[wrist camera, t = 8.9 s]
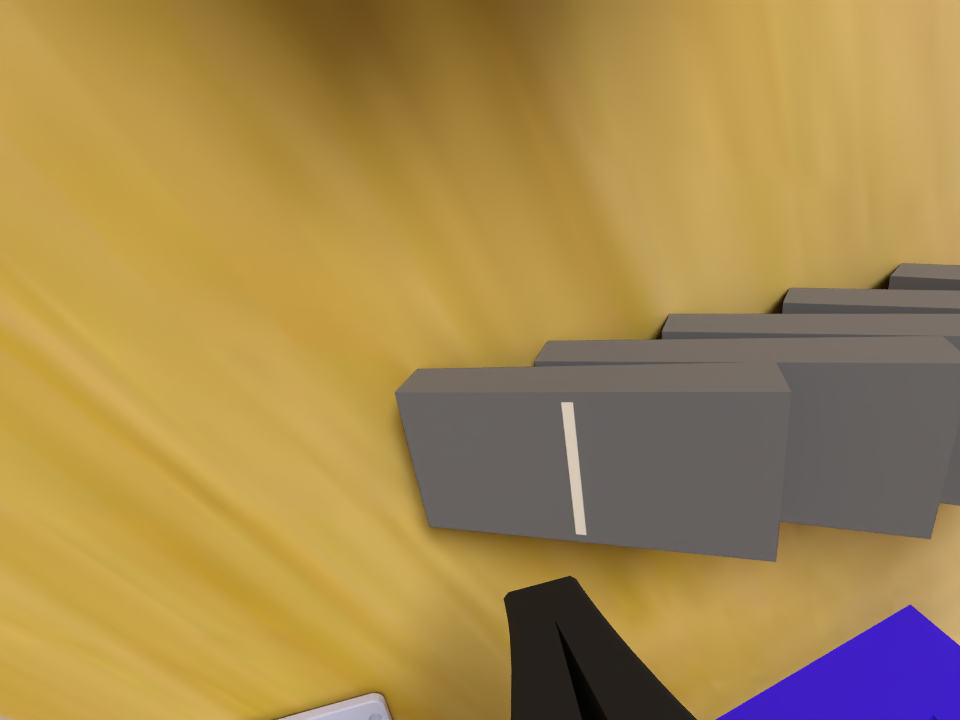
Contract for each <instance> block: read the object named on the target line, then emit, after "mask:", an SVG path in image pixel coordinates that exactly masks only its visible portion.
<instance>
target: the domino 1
mask: <svg viewBox="0 0 960 720" xmlns="http://www.w3.org/2000/svg"><path fill="white" fill-rule="evenodd" d="M395 395H396V399H397V403H398V407H399V411H400V415H401V419H402V423H403V427H404V430H405V434H406V438H407V442H408V446H409V450H410V454H411V458H412V461H413V465H414V469H415V473H416V477H417V481H418V485H419V489H420V492H421V496H422V500H423V504H424V508H425V512H426V516H427V520H428V524H429V526H430V527H440V528H449V529H459V530H469V531H479V532H488V533H498V534H508V535H518V536H528V537H537V538H547V539H557V540H567V541H576V542H586V543H596V544H606V545H616V546H625V547H635V548H645V549H655V550H664V551H674V552H684V553H694V554H704V555H713V556H723V557H733V558H743V559H752V560H762V561H772V562H776V558H777V547H778V536H779V524H780V513H781V502H782V491H783V480H784V469H785V458H786V446H787V435H788V424H789V413H790V402H791V390H790V388H789V386H788V384H787V382H786V380H785V379H784V377H783V375H782V373H781V371H780V369H779V367H778V365H777V363H776V362H741V363H692V364H642V365H592V366H543V367H493V368H443V369H417V370H416V371H415V372H414V373H413V374H412V375H411V376H410V377H409V378H408V379H407V380H406V381H405V382H404V383H403V384H402V385H401V386H400V388H399V389H398V390H397V391H396V392H395Z"/></svg>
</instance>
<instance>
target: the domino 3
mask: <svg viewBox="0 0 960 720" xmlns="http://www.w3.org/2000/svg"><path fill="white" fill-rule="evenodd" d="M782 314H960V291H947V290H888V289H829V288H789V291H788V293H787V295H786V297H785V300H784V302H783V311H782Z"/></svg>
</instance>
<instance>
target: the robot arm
mask: <svg viewBox="0 0 960 720" xmlns="http://www.w3.org/2000/svg"><path fill="white" fill-rule="evenodd" d="M504 602H505V607H506V612H507V617H508V623H509V632H510V645H511V669H512V674H511V720H697V719H696V718H695V717H694V716H693V715H692V714H691V713H690V712H689V711H688V710H687V709H686V708H685V707H684V706H683V705H682V704H681V703H680V702H679V701H678V700H677V699H676V698H675V697H674V696H673V695H672V694H671V693H670V692H669V691H668V690H667V688H666V687H665V686H664V685H663V684H662V683H661V682H660V681H659V680H658V679H657V678H656V677H655V675H654V674H653V673H652V672H651V671H650V670H649V669H648V668H647V667H646V665H645V664H644V663H643V662H642V661H641V660H640V659H639V658H638V657H637V656H636V654H635V653H634V652H633V651H632V650H631V649H630V648H629V646H628V645H627V644H626V643H625V642H624V641H623V639H622V638H621V637H620V636H619V635H618V634H617V632H616V631H615V630H614V629H613V627H612V626H611V625H610V624H609V623H608V621H607V620H606V619H605V618H604V616H603V615H602V614H601V613H600V611H599V610H598V609H597V607H596V606H595V605H594V604H593V602H592V601H591V600H590V598H589V597H588V595H587V594H586V593H585V591H584V590H583V588H582V587H581V586H580V584H579V583H578V581H577V580H576V579H575V578H573V577H571V576H568V577H564V578H560V579H557V580H553V581H549V582H545V583H542V584H538V585H534V586H530V587H527V588H523V589H519V590H515V591H512V592H509V593H508V594H507V595H506V596H505V597H504ZM277 720H392V718H391V715H390V712H389V709H388V707H387V704H386V701H385V698H384V697H383V696H382V695H380V694H378V693H370V694H367V695H363V696H359V697H356V698H352V699H349V700H345V701H341V702H338V703H334V704H331V705H327V706H324V707H320V708H316V709H313V710H309V711H306V712H302V713H299V714H295V715H291V716H288V717H284V718H281V719H277Z"/></svg>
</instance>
